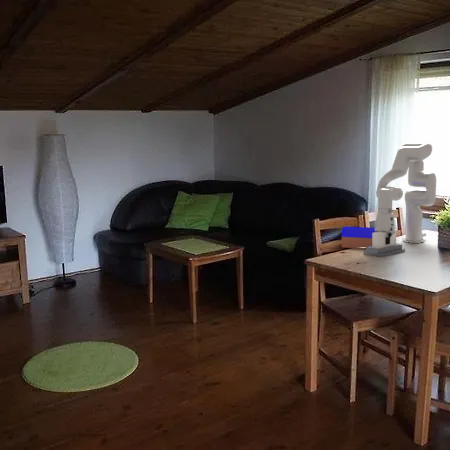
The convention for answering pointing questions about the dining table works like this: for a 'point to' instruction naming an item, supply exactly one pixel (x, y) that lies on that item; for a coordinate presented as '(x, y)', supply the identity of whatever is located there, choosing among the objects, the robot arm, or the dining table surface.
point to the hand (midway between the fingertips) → (384, 243)
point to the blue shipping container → (357, 237)
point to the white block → (382, 239)
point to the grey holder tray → (384, 250)
